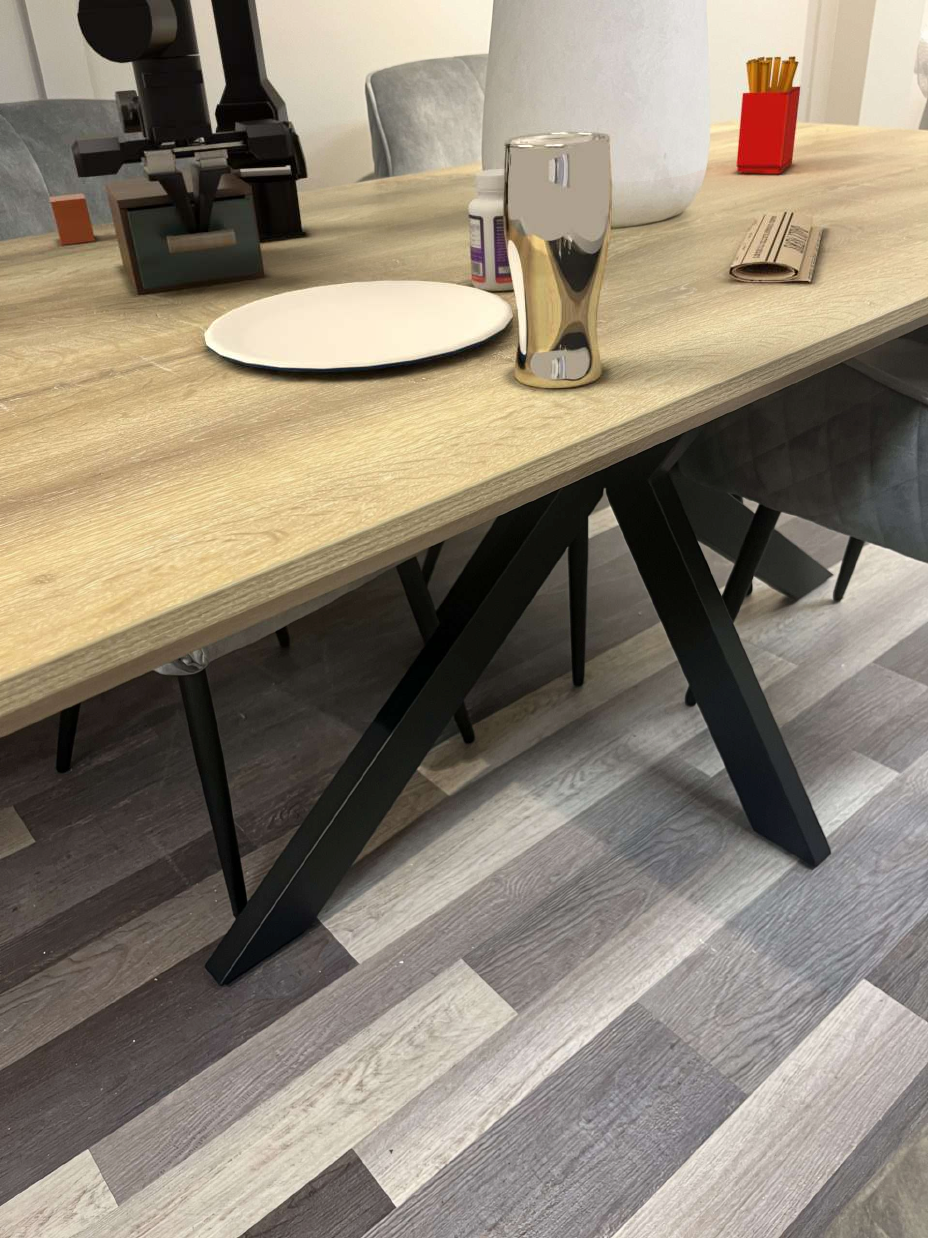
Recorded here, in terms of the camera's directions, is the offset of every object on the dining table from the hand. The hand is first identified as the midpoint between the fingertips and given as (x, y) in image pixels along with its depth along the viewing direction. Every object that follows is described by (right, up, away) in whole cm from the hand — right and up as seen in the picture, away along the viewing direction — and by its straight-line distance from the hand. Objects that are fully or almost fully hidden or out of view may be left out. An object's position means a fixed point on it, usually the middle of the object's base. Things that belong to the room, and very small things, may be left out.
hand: (200, 248), depth 93 cm
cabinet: (-4, +2, +11) cm, 12 cm away
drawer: (-2, 0, +7) cm, 7 cm away
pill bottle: (+28, -4, 0) cm, 28 cm away
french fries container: (+68, +30, +49) cm, 89 cm away
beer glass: (+31, -18, -23) cm, 43 cm away
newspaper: (+56, +1, +5) cm, 56 cm away
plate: (+16, -11, -11) cm, 23 cm away
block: (-23, +12, +30) cm, 40 cm away
